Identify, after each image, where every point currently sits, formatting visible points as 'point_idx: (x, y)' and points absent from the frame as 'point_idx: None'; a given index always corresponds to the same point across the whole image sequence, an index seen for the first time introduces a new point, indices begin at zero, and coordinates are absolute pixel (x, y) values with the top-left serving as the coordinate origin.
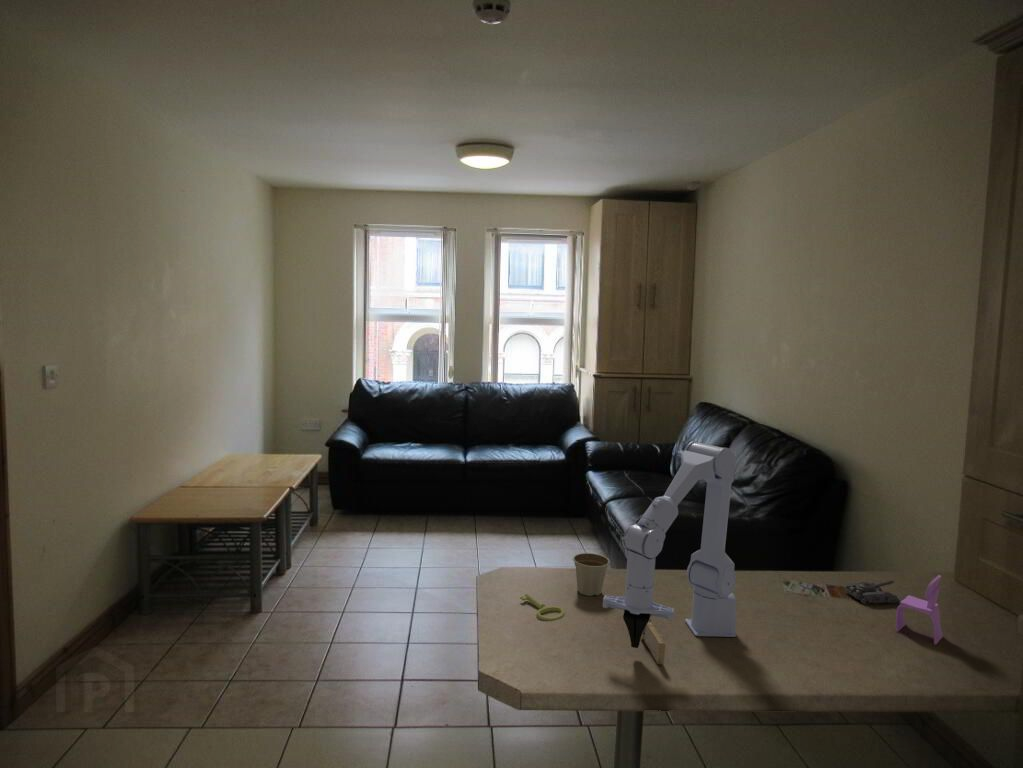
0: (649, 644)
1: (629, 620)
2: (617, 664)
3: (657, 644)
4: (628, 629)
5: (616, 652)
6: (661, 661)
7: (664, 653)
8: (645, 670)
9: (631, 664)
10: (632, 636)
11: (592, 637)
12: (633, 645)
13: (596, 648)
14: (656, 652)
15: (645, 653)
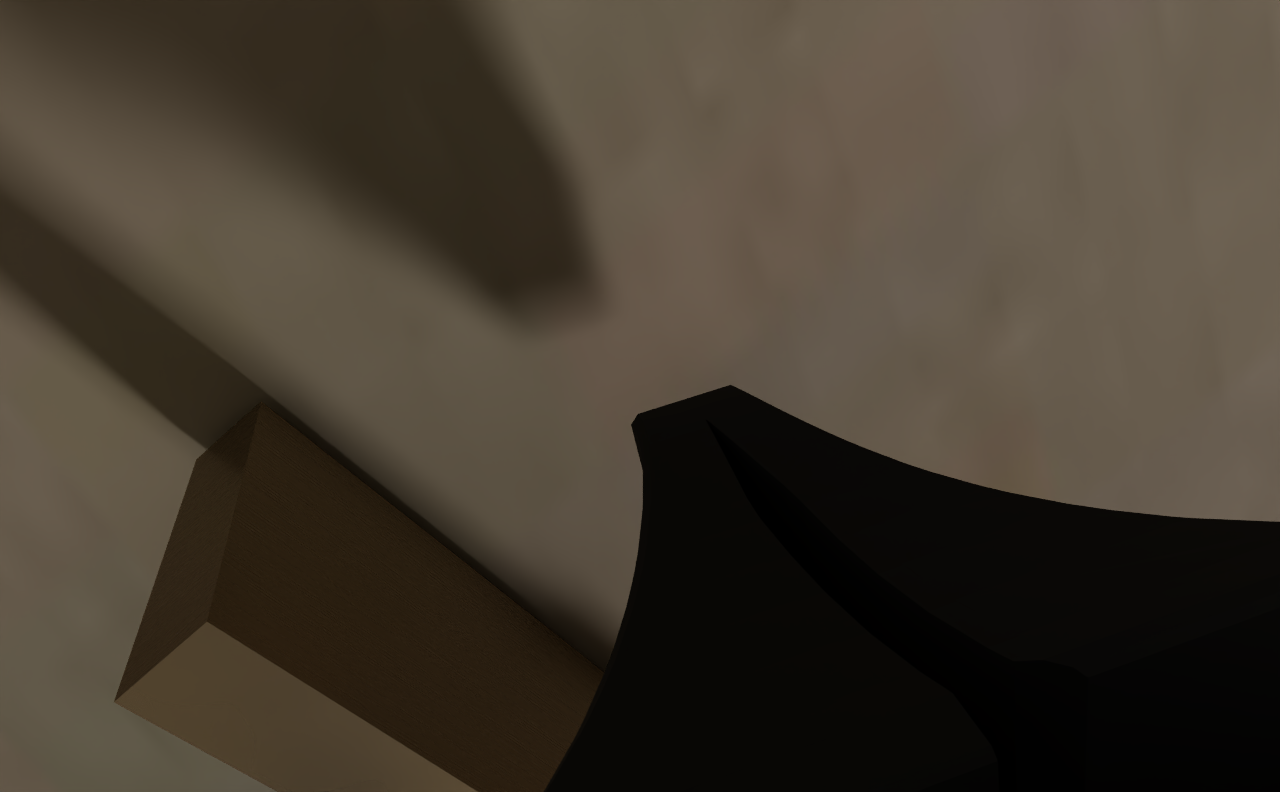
0: (577, 691)
1: (1138, 590)
2: (769, 6)
3: (314, 630)
4: (958, 484)
5: (890, 320)
6: (216, 458)
7: (162, 564)
8: (334, 134)
9: (595, 159)
10: (796, 457)
11: (1225, 434)
12: (709, 400)
13: (1139, 232)
14: (337, 540)
15: (570, 554)
